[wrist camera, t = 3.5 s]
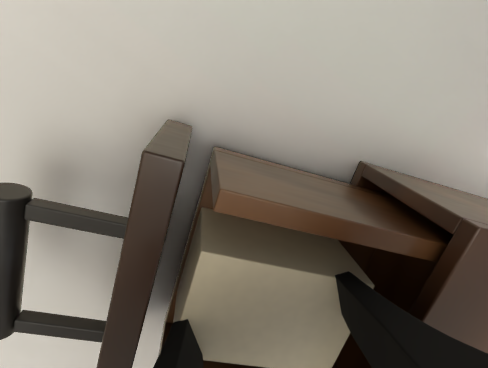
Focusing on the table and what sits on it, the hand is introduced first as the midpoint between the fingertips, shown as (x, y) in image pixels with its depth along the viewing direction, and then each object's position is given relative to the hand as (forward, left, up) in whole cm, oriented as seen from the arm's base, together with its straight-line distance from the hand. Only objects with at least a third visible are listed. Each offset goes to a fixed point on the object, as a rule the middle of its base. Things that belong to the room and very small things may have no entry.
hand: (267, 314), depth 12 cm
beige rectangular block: (0, 0, -4) cm, 4 cm away
